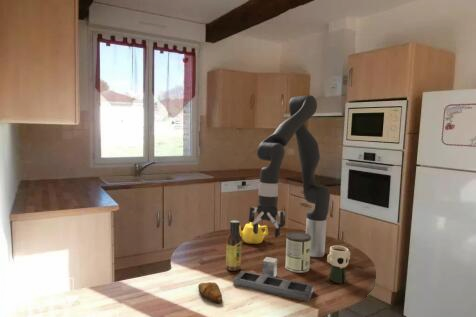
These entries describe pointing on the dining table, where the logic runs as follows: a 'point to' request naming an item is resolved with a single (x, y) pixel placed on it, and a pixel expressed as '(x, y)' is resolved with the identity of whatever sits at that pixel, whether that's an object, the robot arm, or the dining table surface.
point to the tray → (274, 285)
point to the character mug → (338, 263)
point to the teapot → (253, 238)
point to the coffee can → (297, 252)
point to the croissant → (211, 291)
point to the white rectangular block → (270, 267)
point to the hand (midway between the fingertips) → (266, 235)
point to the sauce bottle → (233, 247)
